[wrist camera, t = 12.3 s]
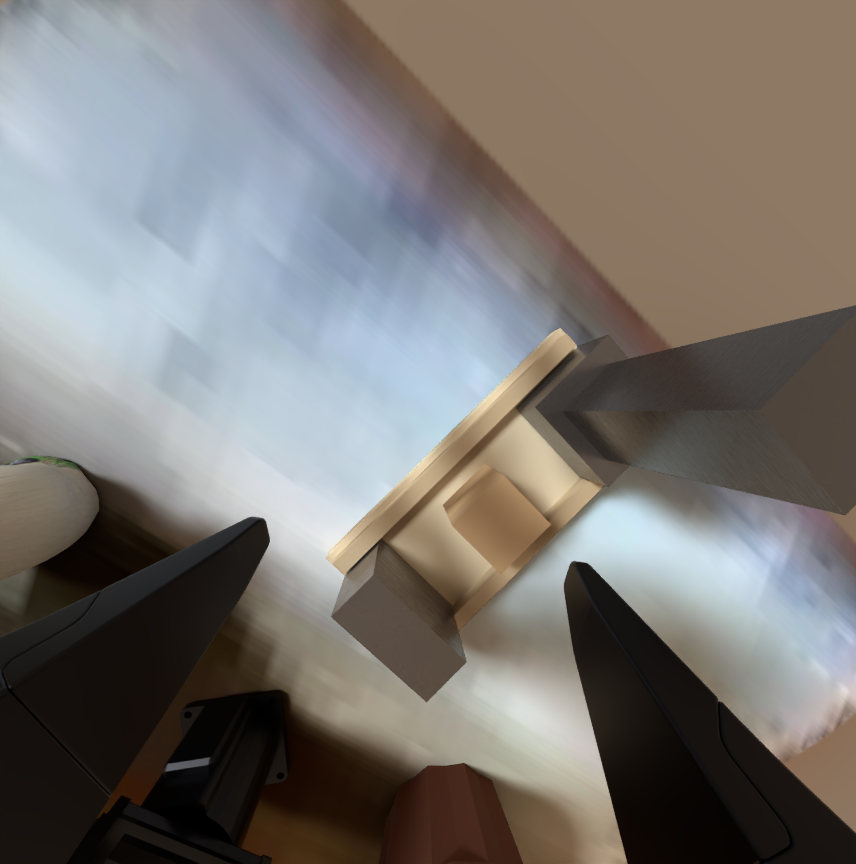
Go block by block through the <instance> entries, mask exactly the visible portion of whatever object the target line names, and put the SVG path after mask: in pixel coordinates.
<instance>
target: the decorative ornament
mask: <svg viewBox="0 0 856 864" xmlns="http://www.w3.org/2000/svg"><path fill="white" fill-rule="evenodd" d="M98 511H99V498H98V494H97V491H96V489H95V488H94V487H93V485H92V484H91V483H90V482H89V480H88V479H87V478H86V477H85V475H84V474H83V473H82V472H81V470H80V469H79V468H78V467H77V465H76V464H75V463H73V462H68V461H64V460H62V459H60V458H56V457H51V456H31V457H24V458H21V459H18V460H16V461H13V462H10V463H7V464H4V465H0V580H1V579H4V578H7V577H9V576H12V575H15V574H17V573H20V572H22V571H24V570H27V569H29V568H31V567H34V566H36V565H38V564H40V563H42V562H44V561H46V560H48V559H50V558H52V557H53V556H55V555H57V554H59V553H60V552H62V551H64V550H65V549H67V548H68V547H69V546H71V545H72V544H73V543H74V542H76V541H77V540H78V539H79V538H80V537H81V536H82V535H83V534H84V533H85V532H86V531H87V530H88V528H89V527H90V525H91V523H92V522H93V520H94V518H95V516H96V514H97V513H98Z"/></svg>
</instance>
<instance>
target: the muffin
mask: <svg viewBox="0 0 856 864" xmlns="http://www.w3.org/2000/svg"><path fill="white" fill-rule="evenodd" d="M379 864H523V862H522V859H521V857H520V854H519V851H518V849H517V846H516V844H515V841H514V838H513V836H512V833H511V830H510V828H509V825H508V822H507V820H506V817H505V815H504V812H503V809H502V807H501V804H500V801H499V799H498V796H497V794H496V791H495V788H494V786H493V783H492V781H491V780H489V779H487V778H485V777H483V776H481V775H479V774H477V773H476V772H475V771H473V770H472V769H471V768H469V767H468V766H467V765H466V764H464V763H461V764H455V765H449V766H427V767H426V768H425V769H423V770H422V771H421V772H420V773H419V774H418V775H417V776H415V777H414V778H413V779H411V780H410V781H408V782H406V783H405V784H403V785H402V786H400V787H398V789H397V793H396V797H395V800H394V804H393V807H392V809H391V811H390V813H389V815H388V817H387V819H386V822H385V829H384V835H383V842H382V848H381V854H380V861H379Z"/></svg>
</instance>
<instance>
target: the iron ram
mask: <svg viewBox="0 0 856 864" xmlns="http://www.w3.org/2000/svg"><path fill="white" fill-rule="evenodd" d="M516 409H517V410H518V411H519V412H520V413H521V414H522V415H523V416H524V418H525V419H526V420H527V421H528V422H529V423H530V424H531V425H532V426H533V427H534V428H535V429H536V431H537V432H538V433H539V434H540V435H541V436H542V437H543V438H544V439H545V440H546V441H547V442H548V443H549V445H550V446H551V447H552V448H553V449H554V450H555V451H556V452H557V453H558V454H559V455H560V456H561V458H562V459H563V460H564V461H565V462H566V463H567V464H568V465H569V466H570V467H571V468H572V469H573V470H574V472H575V473H576V474H577V475H578V476H579V477H581V478H584V479H587V480H590V481H593V482H595V483H598V484H601V485H604V486H606V487H609V486H610V485H611V484H612V483H613V482H614V481H615V480H616V479H617V478H618V477H619V476H620V475H621V474H622V473H623V472H624V471H625V470H626V469H627V468H628V467H629V466H634V467H639V468H643V469H647V470H651V471H656V472H660V473H664V474H669V475H673V476H677V477H682V478H686V479H690V480H695V481H699V482H703V483H708V484H712V485H716V486H721V487H725V488H729V489H734V490H738V491H742V492H746V493H751V494H755V495H759V496H764V497H768V498H772V499H777V500H781V501H785V502H790V503H794V504H798V505H803V506H807V507H811V508H816V509H820V510H824V511H829V512H833V513H837V514H842V515H846V514H847V513H848V512H849V511H850V510H851V509H852V508H853V507H854V506H855V505H856V306H851V307H847V308H842V309H838V310H834V311H830V312H825V313H821V314H817V315H813V316H808V317H804V318H800V319H796V320H791V321H788V322H783V323H779V324H774V325H771V326H766V327H762V328H758V329H754V330H749V331H745V332H741V333H736V334H732V335H728V336H724V337H719V338H716V339H711V340H707V341H702V342H698V343H694V344H690V345H686V346H681V347H677V348H673V349H668V350H664V351H660V352H656V353H651V354H647V355H643V356H639V357H635V358H630V359H629V358H628V357H627V356H626V354H625V353H624V352H623V351H622V350H621V349H620V347H619V346H618V345H617V344H616V343H615V342H614V340H613V339H612V338H611V337H610V336H609V335H606V336H603V337H601V338H598V339H595V340H593V341H590V342H587V343H585V344H582V345H579V346H578V347H577V348H576V349H575V350H574V351H573V352H572V353H571V354H570V355H569V356H568V357H567V358H566V359H565V360H564V361H563V362H562V363H561V364H560V365H559V366H558V367H557V368H556V369H555V370H554V371H553V372H552V373H551V374H550V375H549V376H548V377H547V378H546V379H545V380H544V381H543V382H542V383H541V384H540V385H539V386H537V387H536V388H535V389H534V390H533V391H532V392H531V393H530V394H529V395H528V396H527V397H526V398H525V399H524V400H523V401H522V402H521V403H520V404H519V405H518V406H517V407H516Z"/></svg>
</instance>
